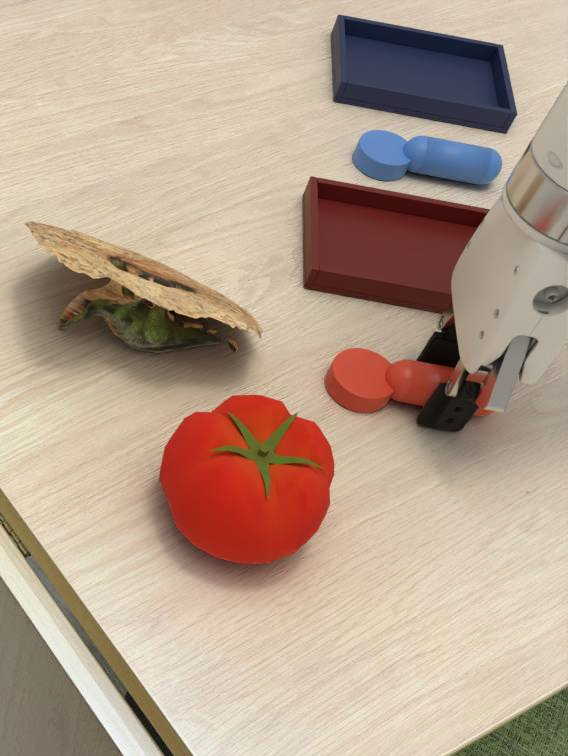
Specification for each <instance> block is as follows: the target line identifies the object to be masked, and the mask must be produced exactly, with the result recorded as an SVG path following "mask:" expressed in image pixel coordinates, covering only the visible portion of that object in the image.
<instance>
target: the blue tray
mask: <svg viewBox="0 0 568 756" xmlns="http://www.w3.org/2000/svg"><path fill="white" fill-rule="evenodd" d="M330 45H331V48H330V49H331V71H332V95H333V102H334V103H335V102H336V103H339V104H340V103H341V104H347V105H352V106H357V107H362V108H368V109H374V110H378V111H383V112H384V111H385V112H389V113H394V114H402V115H404V116H411V117H416V118H422V119H427V120H433V121H437V122H442V123H443V122H444V123H448V124H454V125H459V126H460V125H461V126H463V127H470V128H475V129H480V130H487V131H492V132H495V133H496V132H497V133H502V134H507V133H508V131H509V130H510V128H511V127H512V125H513V123H514V122H515V119H516V118H517V116H518V110H517V105H516V99H515V95H514V90H513V86H512V82H511V77H510V73H509V72H510V71H509V67H508V63H507V57H506V52H505V48H504V45H503V44H499V43H495V42H491V41H490V42H489V41H484V40H479V39H474V38H468V37H462V36H457V35H453V34H447V33H441V32H436V31H430V30H426V29H419V28H414V27H410V26H409V27H408V26H404V25H398V24H394V23H386V22H383V21H377V20H372V19H366V18H361V17H356V16H351V15H345V14H339V13H338V14H337V16H336V19H335V22H334V25H333V27H332V29H331V32H330Z"/></svg>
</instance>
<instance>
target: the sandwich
mask: <svg viewBox="0 0 568 756" xmlns="http://www.w3.org/2000/svg"><path fill="white" fill-rule="evenodd" d="M23 224H24V225H25V226H26V227H27V228H28V229H29V231H30V233H31V235H32V237H33V238H35V241H36V242H37V244H36V245H37V246H41V247H42V248H44V251H45V252H48V253H49V254H50V255H53V256H56V258H57V261H58V263H61V264H64V266H65V267H66V268H68V269H69V270H70V271H73V272H74V273H78V274H84V275H87V276H88V277H90V278H91V279H102V278H108V279H109V281H108V282H107V284H105V285H104V286H101V287H98V288H90V289H87V290H85V291H83V292H81V293H80V294H78V295H77V296H76V297H75V298H73V299H72V300H71V301H70V302H69V303H68V304H67V305H66V306H65V307H64V308H63V310H62V311H61V314H60V315H59V318H58V321H57V324H56V327H57V329H58V330H64V329H65V328H67V327H69V326H70V325H72V323H73V322H76V321H83V320H87V319H90V318H92V317H95V316H97V317H98V316H100V317H102V318H103V319H104V321H105V322H106V324H107V326H108V327H109V329H110V330H111V332H112V333H113V334H114V335H115V336H116V337H117V338H118V339H119V340H120V341H122V342H123V343H124V344H125V345H127V346H128V347H129V348H131V349H133V350H135V351H142V352H150V353H154V354H161V355H163V354H166V353H170V352H177V351H182V350H187V349H189V348H197V347H200V346H201V347H202V346H210V345H220V344H221V342H222V339H221V338H220V337H219V336H217V335H216V334H217V333H218V331H217V330H216V329H213V328H212V329H207V332H205V331H203V330H202V329H203V327H204V326H203V325H202V324H201V323H198V322H191V321H187V320H182V319H180V318H179V317H178V316H177V314H179V315H181V316H186V317H189V318H193V319H199V318H204V319H208V318H211V319H214V320H217V321H219V322H221V323H223V324H226V325H228V326H230V327H231V328H232V329H234V328H236V327H237V328H238V329H239V330H240V332H241V331H242V332H243V333H244V332H245V333H248V334H250V333H251V331H253V332H254V335H255V336H258V339H259V340H262V333H263V334H265V335H266V332H265V331H264V329H263V328H262V326H261V324H259V322H258V320H257V319H256V318H255V317H254V315H253V314H252V313H250V311H248V309H246V308H244V307H242V306H241V305H239V304H238V303H236V302H235V301H233V300H232V299H230V298H229V297H227V296H226V295H225V294H223V293H221V292H220V291H218V290H216V289H213V288H211V287H209V286H206V285H205V284H203V283H201V282H198V281H197V280H195V279H193V278H192V277H190V276H188V275H186V274H185V273H183V272H181V271H180V270H179V271H178V270H177V269H175V268H173V267H171V266H168V264H167V265H166V264H165V263H162V262H161V261H158V260H155V259H153V258H151V257H148V256H146V255H143V254H141V253H139V252H136V251H134V250H130V249H127V248H125V247H121V246H119V245H116V244H113V243H110V242H107V241H104V240H101V239H99V238H97V237H93V236H92V235H89V234H86V233H83V232H81V231H77V230H74V229H73V230H72V229H66V228H63V227H58V226H55V225H51V224H47V223H41V222H37V221H27V222H24V223H23ZM145 301H149V302H151V303H152V304H148V303H146V302H145ZM225 341H226V343H227V345H228V347H229V349H230V351H231V352H232V353H237V352H238V349H239V346H238V344H237V342H236V341H235V339H234V338H232V337H231V338H226V340H225Z"/></svg>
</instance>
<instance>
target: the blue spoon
mask: <svg viewBox="0 0 568 756" xmlns="http://www.w3.org/2000/svg"><path fill="white" fill-rule="evenodd" d="M352 161H353V164H354V165H355V167H356V168H357V170H359V171H360V172H361V173H362V174H364V175H366V176H368V177H369V178H372V179H375V180H378V181H384V182H392V181H397V180H400V179H401V178H402V177H404V176H405V175H406V173H407V171H408V172H411V173H413V174H419V175H425V176H430V177H436V178H441V179H447V180H452V181H457V182H463V183H467V184H474V185H487V184H490V183H491V182H493V181H494V180H496V179H497V177H498V176H499V175H500V174H501V172H502V168H503V159H502V156H501V154H500V153H499V152H498V150H496V149H494V148H491V147H488V146H482V145H477V144H471V143H467V142H462V141H461V142H460V141H456V140H451V139H444V138H441V137H440V138H439V137H433V136H428V135H417V136H414V137H412V138H410V139H409V140H407V139H405V138H404V137H402V136H401V135H399V134H397V133H396V132H392V131H389V130H385V129H371V130H368V131H366V132H363V134H361V136H360V137H359V139H358V142H357V144H356V146H355V148H354V150H353V153H352Z"/></svg>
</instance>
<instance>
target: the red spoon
mask: <svg viewBox="0 0 568 756" xmlns="http://www.w3.org/2000/svg"><path fill="white" fill-rule="evenodd" d="M329 365H330V366H329V367H328V369H327V371H326V372H325V376H324V385H325V389H326V391H327V393H328V394H329V396H330V397H331V398H332V399H333V400H334V401H335V402H336V403H337V404H339V405H340V406H342V407H343V408H345V409H348V410H350V411H353V412H356V413H362V414H363V413H364V414H365V413H366V414H367V413H374V412H377V411H380V410H381V409H383V408H384V407H385V406H387V404H388V402H389V401H390V399H391V400H394V401H396V402H399V403H404V404H405V403H406V404H410V405H416V406H422V407H424V405H425V404H426V403H427V401H428V400H429V398H430V397H431V395H432V394H433V392H434V391H435V389H436V388H437V386H438V385H439V383H440V382H441V383H443V382H445V383H447V382H448V380H449V378H450V376H451V374H452V373H453V371H454V369H455V368H452V367H447V366H441V365H436V364H431V363H425V362H420V361H416V360H414V359H408V358H407V359H405V358H404V359H400V360H397V361H395V362H393V363H391V361H389V360H388V358H386V357H385V356H383V355H381V354H379V353H378V352H376V351H373V350H371V349H368V348H362V347H351V348H346V349H344V350H342V351H340V352H339V353H337V354H336V355H335V356H334V358H333V360H332V361H331V364H329ZM487 374H488V373H485V372H481V371H478V372H475V373H474V374H470V373H469V375H468V377H467V379H466V380H467V381H474V382H478V383H482V382H483V381H484V379H485V377H486V375H487ZM493 413H495V411H490V410H484V409H481V408H480V407H479V408H478V409H477V410H476V412H475V413H474V414H473V416H476V417H484V416H485V417H486V416H489V415H491V414H493Z"/></svg>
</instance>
